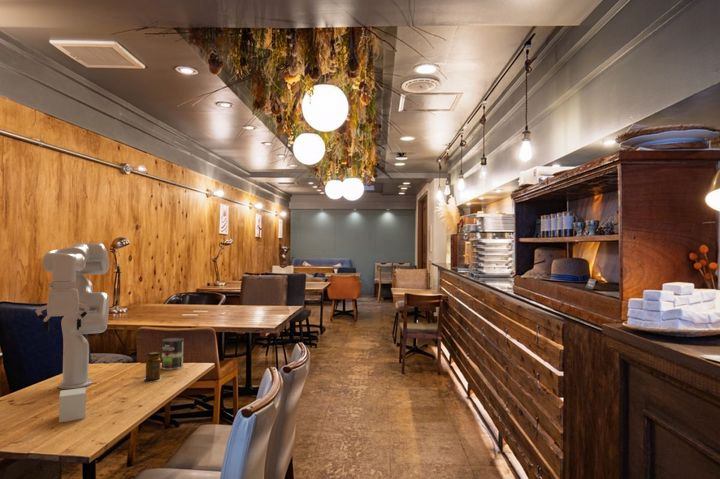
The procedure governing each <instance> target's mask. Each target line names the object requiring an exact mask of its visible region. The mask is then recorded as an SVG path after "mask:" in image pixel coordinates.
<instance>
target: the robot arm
mask: <svg viewBox="0 0 720 479" xmlns="http://www.w3.org/2000/svg"><path fill="white" fill-rule="evenodd" d="M108 254H109V252H108V250H107V247H106V246H105V245H104V244H103V243H101V242H77V243H74V244H73V245H70V247H64V248H58V249H53V250H49V251H48V252H46V253H45V254H44V256H43V258H42V262H41V263H42V264H41V265H42V268H43V270H44V271H45V272H48V273H52V277H51V279H52V280H51V282H47V287H49V288H51V289H49V291H48V294H47V295H48V296H47V304H45V305H43V306H41V307H39V308H37V309H36V310H35V311H34V312H35V313H36V314H37V316H38V318H39V319H40V320H42V321H43V322H44V323H43V326H44V328H43V330H44V331H45V332H46V333H49V332H50V318H52V317H62V319H61V332H62V339H63V340H62V342H63V344H62V346H63V349H62V352H63V354H62V356H63V357H62V381H61V382H59V383H58V384H57V387H58V388H59V389H62V390H70V389H78V388H85V387H87V386H90V385H92V383H93V379H91V378H89V366H90V365H89V363H90V362H89V361H90V359H89V358H90V357H89V356H90V344H89V341H88V340H87V338H86V337H85V336H84V335H91V334H100V333H104V332H105V331H107V327H108V324H109V314H110V302H111V301H110V296H109V294H108V293H106V292H104V291H93V288H94V284H93V283H92V281H90V279H89V278H87V277H86V275H89V276H90V275H105V274H107V273H108V272H109V271H110V270H109V269H110V260H109V255H108ZM84 275H85V276H84ZM44 310H46V314H47V315H46V316H45V315H44V314H43V313H42V312H43V311H44Z"/></svg>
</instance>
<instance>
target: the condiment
mask: <svg viewBox="0 0 720 479" xmlns="http://www.w3.org/2000/svg"><path fill="white" fill-rule="evenodd" d="M160 355H161V353H160V352H159V351H151V352H147V354H146V356H147V357H146V360H145V377H144V378H143V383H152V382H153V383H154V382H162V376H161V358H160V357H161V356H160Z"/></svg>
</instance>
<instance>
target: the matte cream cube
mask: <svg viewBox="0 0 720 479" xmlns="http://www.w3.org/2000/svg"><path fill="white" fill-rule="evenodd" d="M86 394H87V386H84V387H80V388H74V389H62V390H60V391H59V398H58V399H59V400H58V402H59V403H58V424H59V423H64V422H65V423H66V422H71V421H72V422H73V421H76V420H84V419H86V409H87V408H86V403H87V402H86V399H87V396H86Z"/></svg>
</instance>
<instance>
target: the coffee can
mask: <svg viewBox="0 0 720 479" xmlns="http://www.w3.org/2000/svg"><path fill="white" fill-rule="evenodd" d="M184 340H185V339H184V337H183V338H182V337H168V338H163V339H162V340H161V366H160V369H162V370H166V371H167V370H169V371H170V370H171V371H172V370H178V369H181V368H183V367H184Z"/></svg>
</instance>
